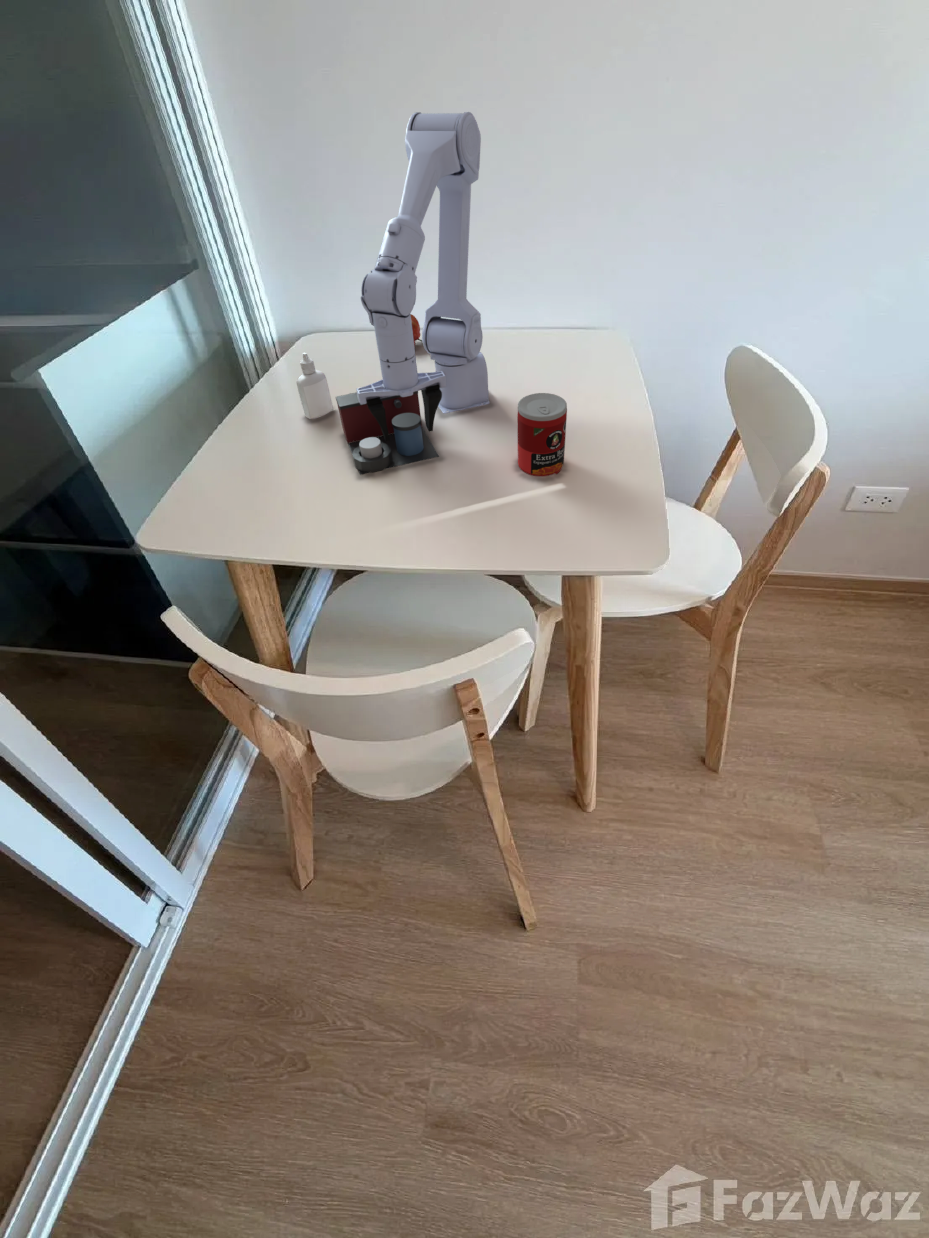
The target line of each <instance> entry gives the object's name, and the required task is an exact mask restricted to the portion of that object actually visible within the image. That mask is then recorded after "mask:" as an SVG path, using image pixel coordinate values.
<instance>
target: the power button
mask: <svg viewBox="0 0 929 1238" xmlns="http://www.w3.org/2000/svg"><path fill="white" fill-rule="evenodd" d="M359 446H360V451H361V455H362V457H364V458H375V457H378V456H380V455H381V454H382V447H381V441H380V440H379V439H378V438H375V437H369V438H365V439H363V440H360V443H359Z"/></svg>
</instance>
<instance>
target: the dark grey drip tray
mask: <svg viewBox="0 0 929 1238" xmlns="http://www.w3.org/2000/svg"><path fill="white" fill-rule="evenodd" d="M421 430H422V438H423V446H424V448H423V450H422V451H421V452H420V453H418V454H416V455H412V456H405V455H401V454H399V453H398V451H397V447H396V440H395V434H394V433H391V434H389V437H390V441H385V439H384V436H383V435H382V436H377V437H375V438H378V439H379V440H380V441H381V447H382V454H381V455H380V456H378V457H375V458H364V457H362V455H361V451H360V446H359V443H360V441H361V440H360V441H355V442H351V443H347V445H348V448H349V450H350V453H351V457H352V460H353V464H354V466H355V469H357V471H358V473H359V475H360V476H362V475H366V474H371V473H376V472H380V471H384V470H387V469H391V468H392V469H393V468H396V467H400V466H405V465H410V464H413V463H417V462H422V461H426V460H430V459H435V458H438V457H440V455H439V453H438V451H437V450H436V447H435V446H434V445H433V443H432V441H431V439H430V438H429V436H428V434H427V433H426V431H425V429H424V426H422V427H421Z"/></svg>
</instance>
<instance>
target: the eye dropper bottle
mask: <svg viewBox="0 0 929 1238" xmlns="http://www.w3.org/2000/svg"><path fill="white" fill-rule="evenodd" d="M299 365H300V368H301V372H302V373H301V375H300V376H299V377H298V378H297V379H296V387H297V391H298V395H299V399H300V402H301V407H302V410H303V414H304V417H305V418H307V419H308V420H314V419H318V418H320V417H323V416H326V415H328V414H329V413H331V412H333V411H334V405H333V400H332V396H331V392H330V387H329V383H328V379H327V376H326V374H325V373H324V372H323V371H321V370H318V369H316V366H315V362H314V358H310V357H309V356H308V353H307V352H302V359H300V360H299Z"/></svg>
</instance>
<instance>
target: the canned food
mask: <svg viewBox="0 0 929 1238" xmlns="http://www.w3.org/2000/svg"><path fill="white" fill-rule="evenodd" d="M516 417H517V420H516V421H517V425H516V426H517V427H516V428H517V464H518V467H519V469H520V470H521V472H524V473H525V474H526V475H530V476H534V477H548V476H552V475H558V474H559V473H560V472H561V471H562V468H563V466H564V462H565V449H566V434H567V433H566V432H567V418H568V404H567V401H566V400H565V399H564V398H563V397H561V396H560V395H558V394H555V393H549V392H537V393H531V394H528V395H526V396H524V397H522V398H521V399H520V400H518V402H517V415H516Z"/></svg>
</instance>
